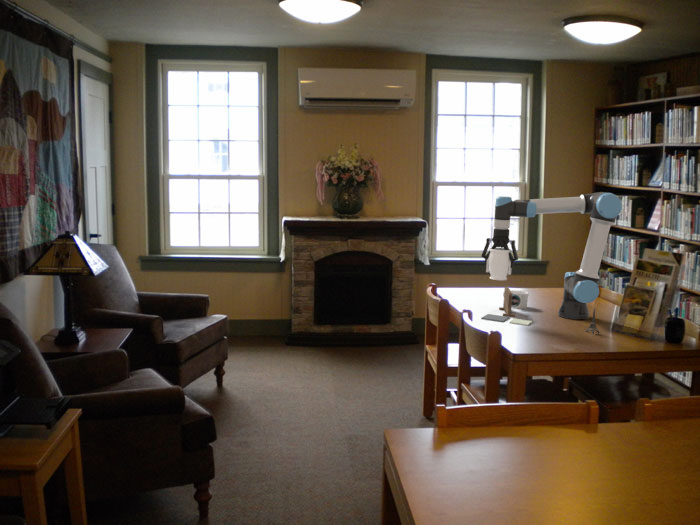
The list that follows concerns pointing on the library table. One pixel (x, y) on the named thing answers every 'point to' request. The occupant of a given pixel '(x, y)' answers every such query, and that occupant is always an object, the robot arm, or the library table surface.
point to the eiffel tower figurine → (592, 324)
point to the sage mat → (520, 321)
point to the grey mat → (495, 317)
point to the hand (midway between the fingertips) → (498, 273)
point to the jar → (499, 263)
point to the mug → (519, 299)
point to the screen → (507, 303)
